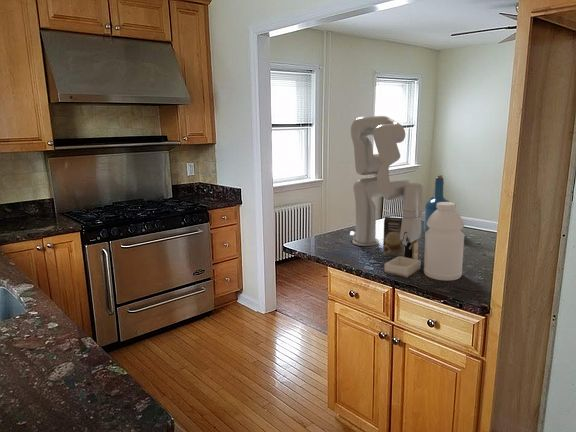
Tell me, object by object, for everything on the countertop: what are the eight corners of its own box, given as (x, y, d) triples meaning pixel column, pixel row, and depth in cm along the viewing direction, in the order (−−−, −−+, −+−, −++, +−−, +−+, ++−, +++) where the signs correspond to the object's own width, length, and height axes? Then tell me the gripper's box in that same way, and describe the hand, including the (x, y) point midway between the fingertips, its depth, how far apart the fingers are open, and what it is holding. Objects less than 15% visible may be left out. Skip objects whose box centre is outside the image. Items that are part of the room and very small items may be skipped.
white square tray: (384, 272, 170) (384, 263, 170) (398, 264, 179) (398, 256, 178) (406, 277, 164) (407, 268, 163) (420, 268, 173) (420, 260, 172)
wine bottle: (454, 235, 217) (457, 176, 210) (428, 236, 217) (430, 177, 210) (445, 228, 230) (448, 172, 223) (420, 229, 230) (422, 173, 223)
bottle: (457, 283, 156) (462, 208, 150) (419, 277, 164) (422, 205, 157) (465, 271, 168) (469, 201, 162) (428, 266, 175) (431, 198, 169)
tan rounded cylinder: (403, 262, 181) (404, 241, 179) (407, 259, 183) (408, 239, 181) (413, 264, 178) (414, 243, 176) (417, 261, 180) (418, 241, 178)
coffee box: (382, 255, 191) (383, 219, 187) (384, 250, 197) (384, 216, 193) (403, 256, 188) (404, 220, 184) (404, 252, 194) (405, 217, 190)
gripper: (412, 208, 184) (411, 249, 189) (393, 216, 173) (392, 259, 177) (429, 211, 180) (427, 252, 184) (411, 218, 168) (409, 263, 172)
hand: (410, 255), depth 180 cm, fingers closed on tan rounded cylinder, 3 cm apart
